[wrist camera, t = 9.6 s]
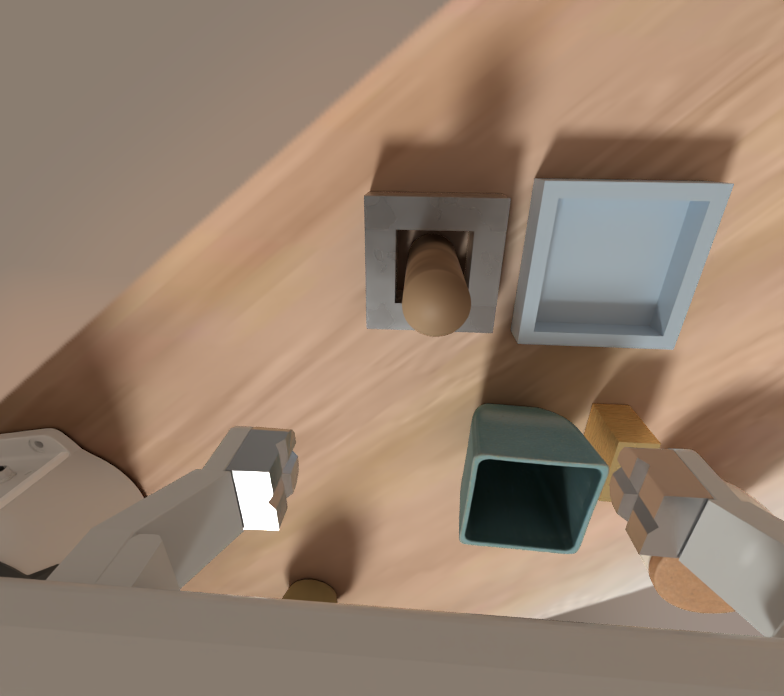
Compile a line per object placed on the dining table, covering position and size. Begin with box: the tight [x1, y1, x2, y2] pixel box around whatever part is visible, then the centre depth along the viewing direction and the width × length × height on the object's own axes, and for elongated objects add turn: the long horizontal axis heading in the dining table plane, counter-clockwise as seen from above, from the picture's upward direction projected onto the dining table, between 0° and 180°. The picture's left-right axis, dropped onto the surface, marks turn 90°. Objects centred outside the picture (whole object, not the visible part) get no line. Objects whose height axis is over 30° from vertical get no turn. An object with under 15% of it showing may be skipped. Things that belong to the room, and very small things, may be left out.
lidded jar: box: [640, 480, 773, 613], centre depth 34 cm, size 11×11×9 cm
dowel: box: [402, 234, 471, 337], centre depth 25 cm, size 4×4×10 cm
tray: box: [511, 178, 734, 350], centre depth 27 cm, size 11×11×2 cm
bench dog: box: [584, 403, 661, 502], centre depth 33 cm, size 3×6×5 cm, turn 179°
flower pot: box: [459, 404, 609, 554], centre depth 31 cm, size 9×9×9 cm
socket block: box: [364, 191, 511, 333], centre depth 28 cm, size 9×9×3 cm
